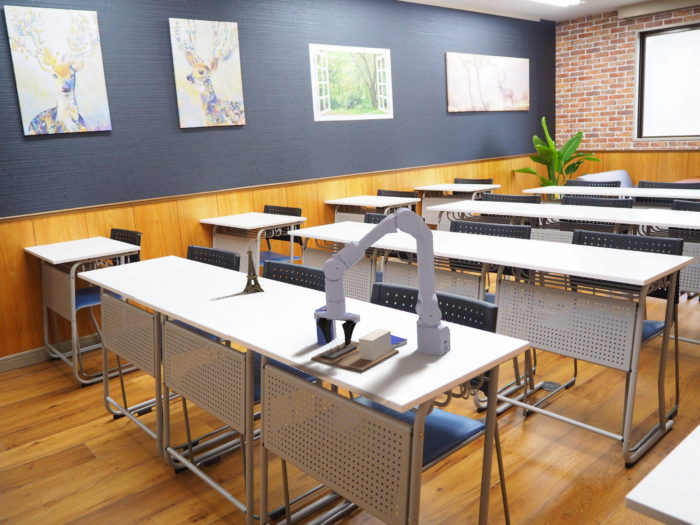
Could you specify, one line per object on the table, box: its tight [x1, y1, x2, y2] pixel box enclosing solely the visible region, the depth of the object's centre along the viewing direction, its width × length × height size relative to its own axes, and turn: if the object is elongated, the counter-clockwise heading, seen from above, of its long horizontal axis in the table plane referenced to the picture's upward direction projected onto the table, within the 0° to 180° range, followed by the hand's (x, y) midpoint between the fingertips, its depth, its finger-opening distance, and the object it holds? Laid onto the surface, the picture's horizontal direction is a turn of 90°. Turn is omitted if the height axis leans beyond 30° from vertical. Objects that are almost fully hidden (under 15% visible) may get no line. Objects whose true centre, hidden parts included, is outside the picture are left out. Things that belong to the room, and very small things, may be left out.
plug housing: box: [358, 328, 392, 361], centre depth 168 cm, size 5×10×6 cm, turn 145°
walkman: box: [314, 304, 338, 346], centre depth 183 cm, size 8×3×12 cm, turn 152°
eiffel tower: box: [242, 245, 265, 295], centre depth 247 cm, size 11×11×25 cm
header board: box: [310, 340, 400, 373], centre depth 169 cm, size 19×18×3 cm
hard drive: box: [391, 334, 408, 349], centre depth 180 cm, size 2×8×12 cm
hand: (338, 343), depth 170 cm, fingers open, 6 cm apart
